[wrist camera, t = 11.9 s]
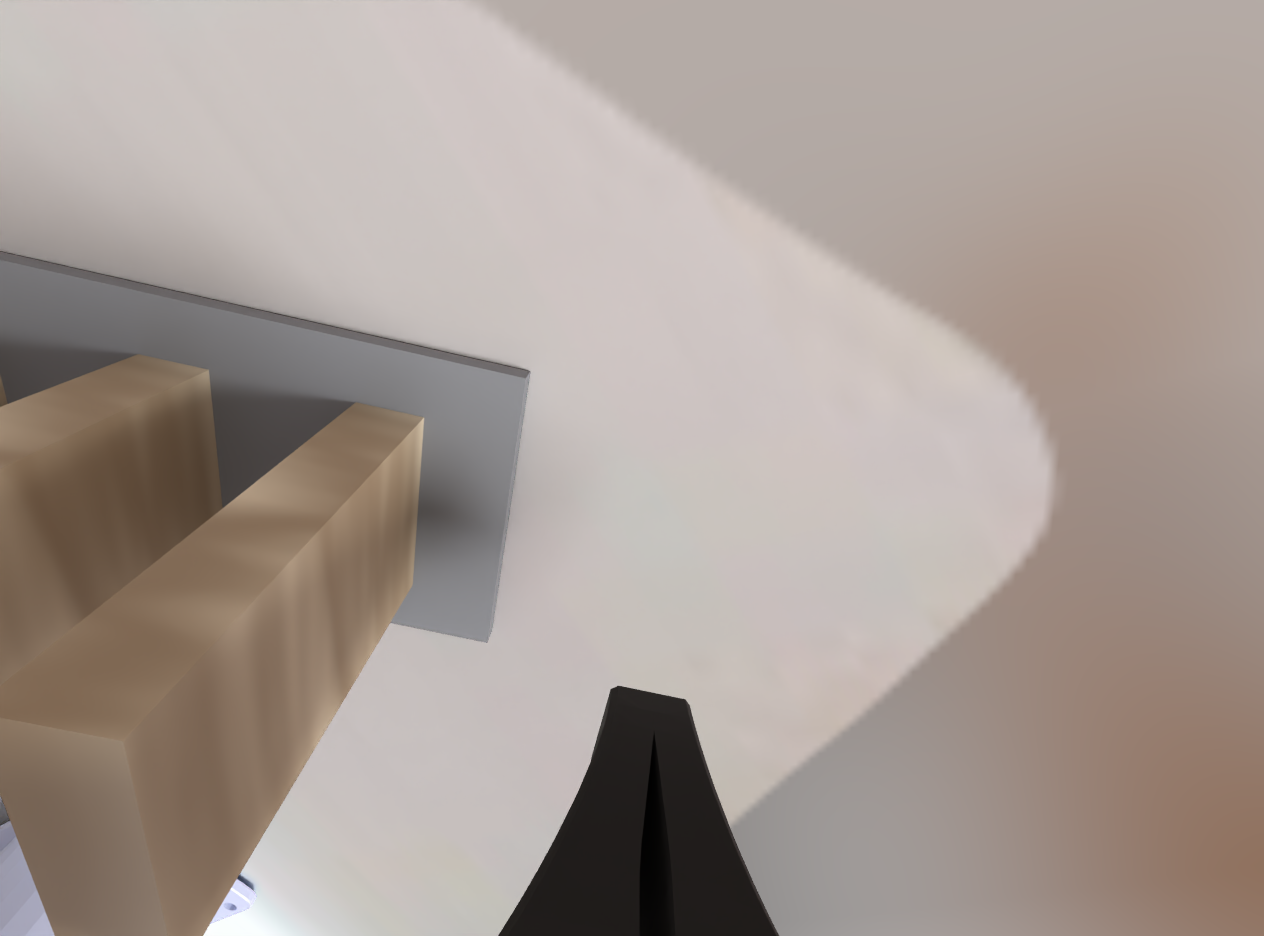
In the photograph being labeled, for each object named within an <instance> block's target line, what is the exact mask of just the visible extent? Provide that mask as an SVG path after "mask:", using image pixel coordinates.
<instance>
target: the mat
mask: <svg viewBox="0 0 1264 936" xmlns="http://www.w3.org/2000/svg"><path fill="white" fill-rule="evenodd" d="M137 354H140V355H144V356H149V357H153V358H158V359H163V360H167V361H172V362H176V363H181V364H185V365H190V366H194V367H199V368H203V369H208V370H209V377H210V387H211V397H212V407H213V417H214V427H215V437H216V447H217V457H218V467H219V477H220V487H221V497H222V507H223V508H224V507H225V506H226V505H228V504H229V503H230V502H231V501H233V500H234V499H235V498H236V497H238V496H239V495H240V494H241V493H243V492H244V491H245V490H246V489H248V488H249V487H250V486H251V485H253V484H254V483H255V482H256V481H258V480H259V479H260V478H261V477H263V476H264V475H265V474H266V473H268V472H269V471H270V470H272V469H273V468H274V467H275V466H277V465H278V464H279V463H280V462H282V461H283V460H284V459H285V458H287V457H288V456H289V455H290V454H292V453H293V452H294V451H295V450H297V449H298V448H299V447H300V446H302V445H303V444H304V443H305V442H307V441H308V440H309V439H310V438H312V437H313V436H314V435H315V434H317V433H318V432H319V431H320V430H322V429H323V428H324V427H326V426H327V425H328V424H329V423H331V422H332V421H333V420H334V419H336V418H337V417H338V416H339V415H341V414H342V413H343V412H344V411H346V410H347V409H348V408H349V407H351V406H352V405H353V404H354V403H356V402H357V403H361V404H366V405H370V406H375V407H380V408H384V409H389V410H393V411H398V412H402V413H407V414H411V415H416V416H420V417H424V428H423V443H422V457H421V472H420V486H419V501H418V515H417V530H416V544H415V559H414V573H413V585H412V587H411V589H410V590H409V592H408V594H407V595H406V597H405V599H404V600H403V602H402V604H401V605H400V607H399V609H398V610H397V612H396V614H395V615H394V617H393V619H392V620H391V622H390V623H394V624H398V625H403V626H408V627H413V628H418V629H423V630H428V631H432V632H437V633H442V634H447V635H452V636H457V637H462V638H466V639H471V640H476V641H481V642H486V643H487V642H488V640H489V637H490V634H491V632H492V626H493V620H494V613H495V606H496V599H497V593H498V586H499V579H500V572H501V566H502V559H503V552H504V546H505V539H506V532H507V525H508V519H509V512H510V505H511V498H512V492H513V485H514V478H515V471H516V465H517V458H518V451H519V444H520V438H521V431H522V424H523V417H524V411H525V404H526V397H527V390H528V384H529V377H530V371H526V370H522V369H517V368H513V367H508V366H504V365H500V364H495V363H491V362H486V361H482V360H478V359H473V358H469V357H464V356H460V355H455V354H451V353H447V352H442V351H438V350H433V349H429V348H425V347H420V346H416V345H411V344H407V343H402V342H398V341H394V340H389V339H385V338H380V337H376V336H371V335H367V334H363V333H358V332H354V331H349V330H345V329H341V328H336V327H332V326H327V325H323V324H318V323H314V322H310V321H305V320H301V319H296V318H292V317H287V316H283V315H279V314H274V313H270V312H265V311H261V310H257V309H252V308H248V307H243V306H239V305H234V304H230V303H226V302H221V301H217V300H212V299H208V298H204V297H199V296H195V295H190V294H186V293H181V292H177V291H173V290H168V289H164V288H159V287H155V286H150V285H146V284H142V283H137V282H133V281H128V280H124V279H120V278H115V277H111V276H106V275H102V274H97V273H93V272H89V271H84V270H80V269H75V268H71V267H66V266H62V265H58V264H53V263H49V262H44V261H40V260H36V259H31V258H27V257H22V256H18V255H13V254H9V253H5V252H0V376H1V380H2V384H3V388H4V391H5V395H6V399H7V403H8V404H9V403H12V402H15V401H17V400H20V399H22V398H25V397H28V396H30V395H33V394H36V393H38V392H41V391H43V390H46V389H49V388H51V387H54V386H56V385H59V384H62V383H64V382H67V381H70V380H72V379H75V378H77V377H80V376H83V375H85V374H88V373H90V372H93V371H96V370H98V369H101V368H103V367H106V366H109V365H111V364H114V363H117V362H119V361H122V360H124V359H127V358H130V357H132V356H135V355H137Z"/></svg>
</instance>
